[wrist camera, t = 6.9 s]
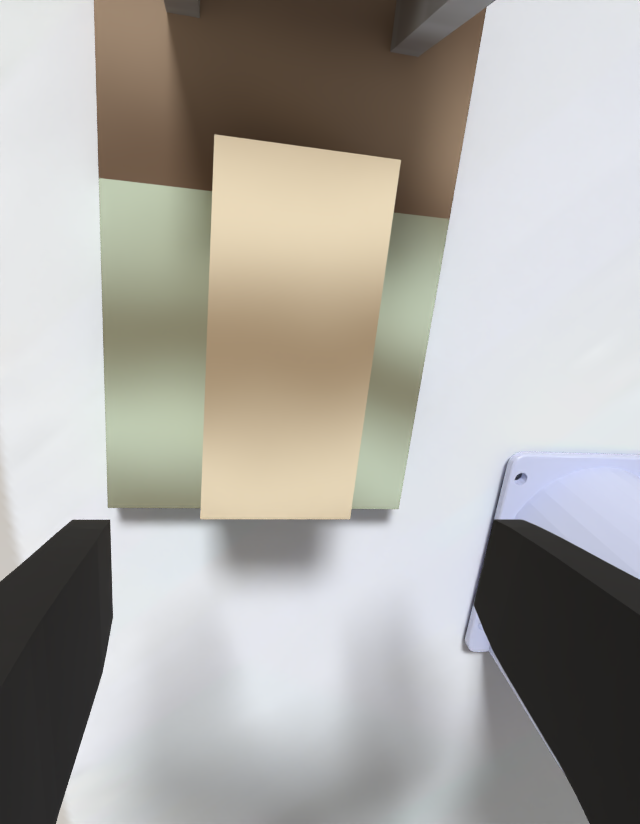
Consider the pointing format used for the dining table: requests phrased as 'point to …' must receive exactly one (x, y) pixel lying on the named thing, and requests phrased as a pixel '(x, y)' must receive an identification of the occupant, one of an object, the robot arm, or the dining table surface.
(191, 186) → the tunnel deck
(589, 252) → the dining table surface
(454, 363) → the dining table surface
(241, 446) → the maple bar
